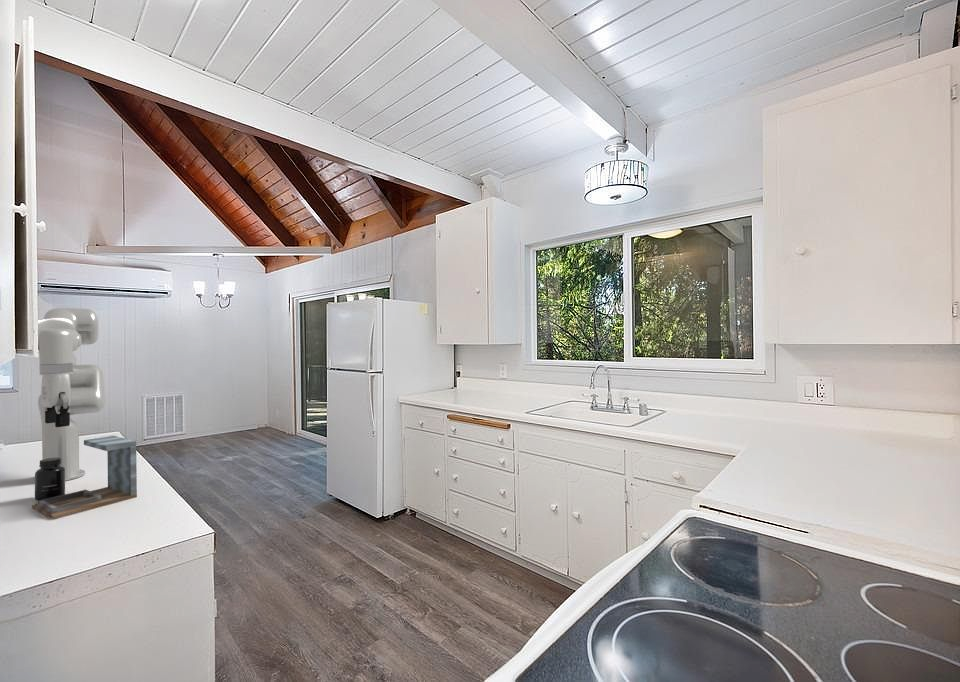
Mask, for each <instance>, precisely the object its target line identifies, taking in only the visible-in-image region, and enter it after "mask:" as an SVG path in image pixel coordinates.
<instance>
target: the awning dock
mask: <svg viewBox="0 0 960 682" xmlns="http://www.w3.org/2000/svg"><path fill="white" fill-rule="evenodd" d="M83 446H86V447H89V448H94V449H97V450H100V451H104V452H107V453H106V454H107V486H106V487H101V488H97V489H93V490H89V489H88V490H87V489H83V490H78V491H73V492H69V493H65V495H61V496H56V497H52V498H48V499H44V500H39V501H36V504H32V505H31V509H32V510H34V511H35V512H38V513H40V514H42V515H43V516H45V517H47V516H48V517H47V518H49V517H50V518H49V519H51V518H52V519H51V520H57V519H61V518H64V517H67V516H71V515H75V514H79V513H83V512H86V511H90V510H94V509H97V508H102V507H106V506H108V505H112V504H117V503H120V502H124V501H128V500H131V499H134V498H137V497H138V494H137V493H138V484H137V481H138V480H137V476H138V475H137V474H138V473H137V471H138V470H137V440H133V439H129V438H125V437H121V436H117V435H108V436H101V437H96V438H95V437H94V438H89V439H84V440H83Z"/></svg>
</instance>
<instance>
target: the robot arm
mask: <svg viewBox="0 0 960 682" xmlns="http://www.w3.org/2000/svg"><path fill="white" fill-rule="evenodd" d="M37 321H38V350H39V352H38V353H39V355H38V357H39V358H38V360H39V364H38V365H39V367H38V368H39V376H42V377H41V387H40V395H39V396H38V399H37V406H38V410H39V416H40V421H41V443H42V444H41V447H42V449H41V452H42V458H41V460H43V459H48V458H61V464H60V466H63V467H64V468H65V482H66V481H71V480H75V479H78V478H81V477H83V476H84V475H86V470H85V469H80V427H79V425H78V423H77V422H76V421H75V420H73V419H72V418H71V416H73V415H85V414H93V413H99V412H100V411H102V410H103V408H104V406H105V387H104V386H105V385H104V373H103V370H102V369H101V367H100V366H98V365H96V364H77V362H78V361H77V357H76V355H75V354H74V353H73V352H75V351H77V350H78V349H79V348H80V347H81V346H82V345H83V346H85V345H93V344H95V343H97V341H98V339H99V318H98V315H97V314H96V312H95V311H93V309H89V308H77V307H76V308H75V307H74V308H73V307H71V308H70V307H59V308H58V307H57V308H52V309H50V310H48V311H46V312H45V314H44V316H43V318H42V319H40V320H39V319H38V320H37Z"/></svg>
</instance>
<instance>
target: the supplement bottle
mask: <svg viewBox="0 0 960 682" xmlns="http://www.w3.org/2000/svg"><path fill="white" fill-rule="evenodd" d="M60 464H61V458H48V459H43V460H42V459H41V460H39V468H38V469H37V470H36V471H35V473H34V500H35V501H36V502H37V501H39V500H44V499H48V498H52V497H56V496H61V495H65V494H66V481H65V468H64V467H63V466H60Z"/></svg>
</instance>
